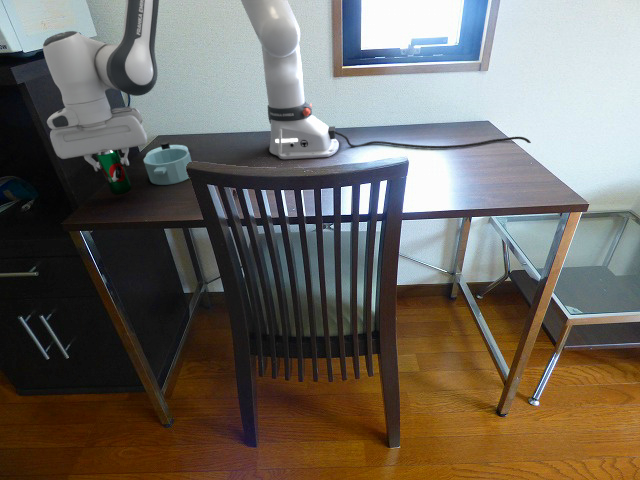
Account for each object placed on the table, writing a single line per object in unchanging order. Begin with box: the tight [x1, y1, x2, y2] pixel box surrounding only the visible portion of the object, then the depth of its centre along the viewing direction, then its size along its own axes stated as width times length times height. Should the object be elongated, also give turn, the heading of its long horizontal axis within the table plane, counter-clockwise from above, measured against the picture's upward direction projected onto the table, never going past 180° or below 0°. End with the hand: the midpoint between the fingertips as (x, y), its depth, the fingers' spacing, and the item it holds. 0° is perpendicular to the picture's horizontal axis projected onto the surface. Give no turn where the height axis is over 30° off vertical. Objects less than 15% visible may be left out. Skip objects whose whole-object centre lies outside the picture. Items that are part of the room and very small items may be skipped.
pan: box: [142, 147, 193, 186], centre depth 111 cm, size 12×18×6 cm
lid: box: [145, 141, 189, 157], centre depth 126 cm, size 13×13×4 cm
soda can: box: [94, 149, 133, 196], centre depth 97 cm, size 5×5×12 cm
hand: (112, 167), depth 97 cm, fingers closed on soda can, 5 cm apart
